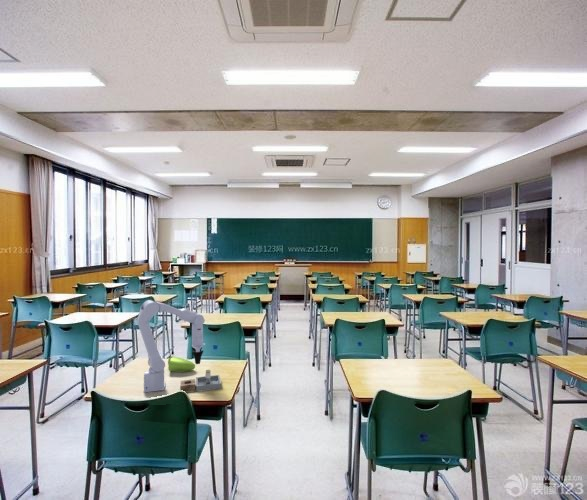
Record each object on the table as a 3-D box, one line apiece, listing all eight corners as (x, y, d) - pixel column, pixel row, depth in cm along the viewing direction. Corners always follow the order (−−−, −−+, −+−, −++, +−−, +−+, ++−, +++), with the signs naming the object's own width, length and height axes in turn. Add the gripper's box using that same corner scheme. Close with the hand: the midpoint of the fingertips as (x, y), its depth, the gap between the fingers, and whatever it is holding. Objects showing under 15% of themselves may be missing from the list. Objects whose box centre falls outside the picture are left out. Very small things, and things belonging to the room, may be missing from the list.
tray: (196, 391, 164) (196, 386, 164) (195, 382, 176) (195, 377, 176) (221, 388, 168) (221, 383, 168) (219, 379, 179) (219, 374, 179)
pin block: (180, 392, 163) (180, 386, 163) (180, 386, 170) (180, 380, 170) (195, 390, 166) (195, 384, 166) (194, 384, 172) (194, 379, 172)
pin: (205, 385, 170) (205, 371, 170) (205, 383, 173) (205, 370, 172) (210, 384, 171) (210, 371, 171) (210, 383, 173) (210, 369, 173)
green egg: (158, 356, 189) (191, 361, 186) (169, 354, 201) (200, 358, 198) (155, 371, 187) (189, 376, 184) (167, 367, 199) (198, 372, 196)
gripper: (205, 339, 174) (205, 365, 174) (204, 332, 188) (204, 356, 188) (191, 340, 172) (191, 366, 172) (191, 333, 186) (191, 357, 186)
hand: (197, 361), depth 180 cm, fingers open, 7 cm apart
